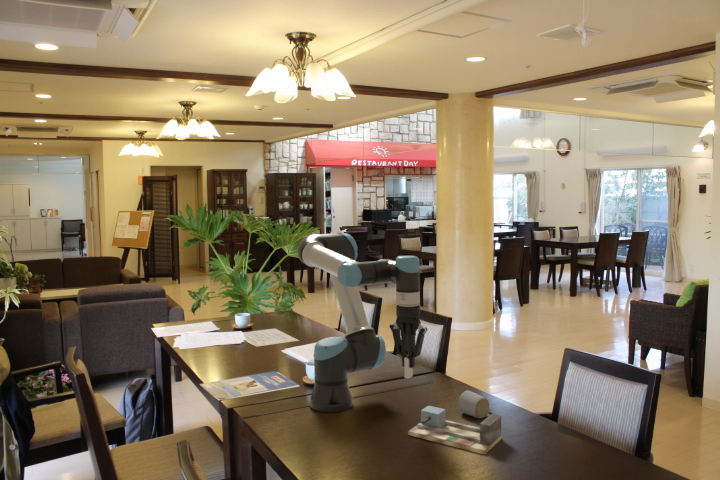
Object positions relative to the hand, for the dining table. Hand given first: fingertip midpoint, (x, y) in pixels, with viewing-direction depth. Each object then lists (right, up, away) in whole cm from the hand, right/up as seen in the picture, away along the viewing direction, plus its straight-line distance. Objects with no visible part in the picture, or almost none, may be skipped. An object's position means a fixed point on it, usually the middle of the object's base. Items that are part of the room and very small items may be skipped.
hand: (408, 377), depth 186 cm
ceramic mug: (+23, -15, +8) cm, 29 cm away
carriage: (+6, -14, -6) cm, 17 cm away
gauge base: (+13, -16, -10) cm, 23 cm away
